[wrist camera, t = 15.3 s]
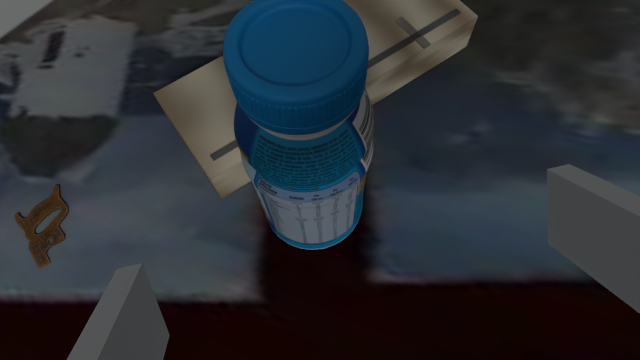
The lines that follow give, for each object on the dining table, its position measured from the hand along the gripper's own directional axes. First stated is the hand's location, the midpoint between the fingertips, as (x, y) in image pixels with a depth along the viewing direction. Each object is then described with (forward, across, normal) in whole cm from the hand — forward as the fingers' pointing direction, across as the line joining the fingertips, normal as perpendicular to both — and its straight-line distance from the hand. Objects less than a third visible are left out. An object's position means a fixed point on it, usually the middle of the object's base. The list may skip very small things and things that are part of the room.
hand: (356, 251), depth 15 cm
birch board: (+31, -3, -1) cm, 32 cm away
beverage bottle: (+23, 0, +8) cm, 24 cm away
